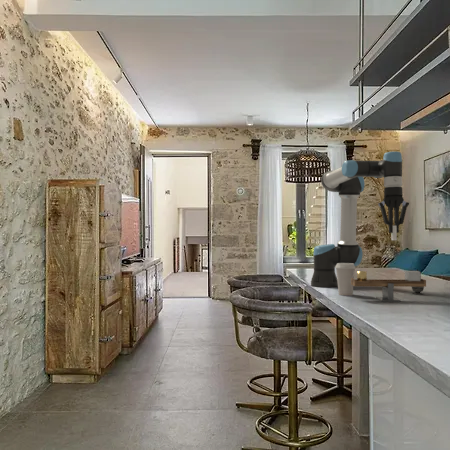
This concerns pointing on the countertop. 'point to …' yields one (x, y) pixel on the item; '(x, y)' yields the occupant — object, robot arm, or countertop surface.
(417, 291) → the salt shaker
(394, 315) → the countertop surface
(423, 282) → the wooden tray
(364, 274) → the cylinder
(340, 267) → the coffee cup
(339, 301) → the countertop surface
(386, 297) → the fulcrum
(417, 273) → the block
